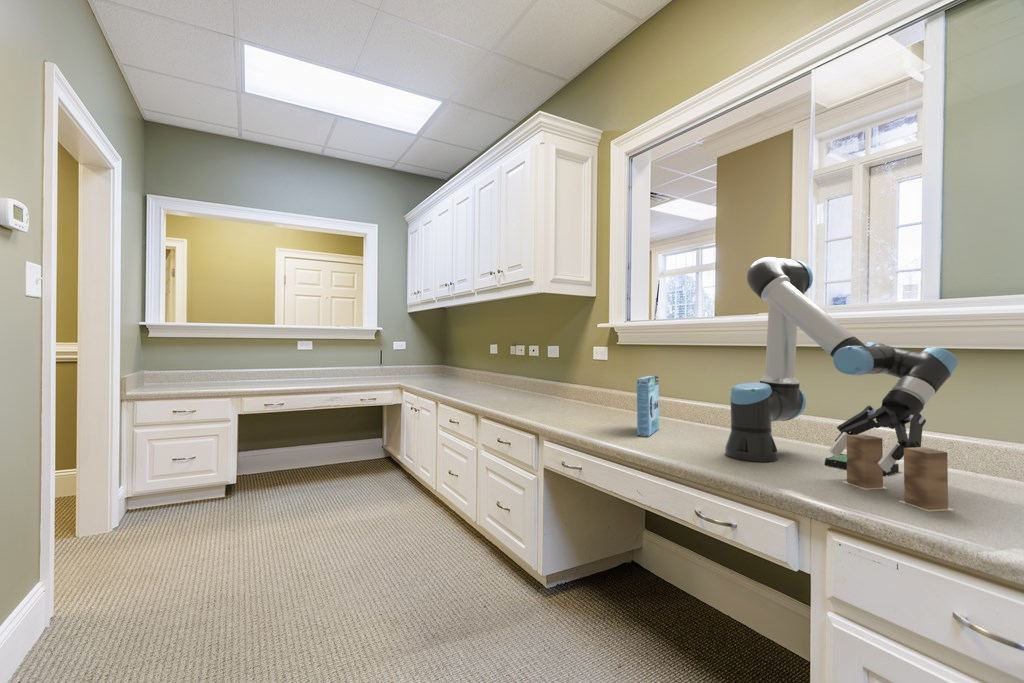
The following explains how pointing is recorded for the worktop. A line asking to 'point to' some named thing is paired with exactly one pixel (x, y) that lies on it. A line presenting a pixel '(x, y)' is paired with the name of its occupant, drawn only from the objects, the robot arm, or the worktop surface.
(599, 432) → the worktop surface
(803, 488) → the worktop surface
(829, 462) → the disk drive
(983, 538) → the worktop surface
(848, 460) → the post
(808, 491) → the worktop surface
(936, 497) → the built post
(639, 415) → the light blue cardboard box
